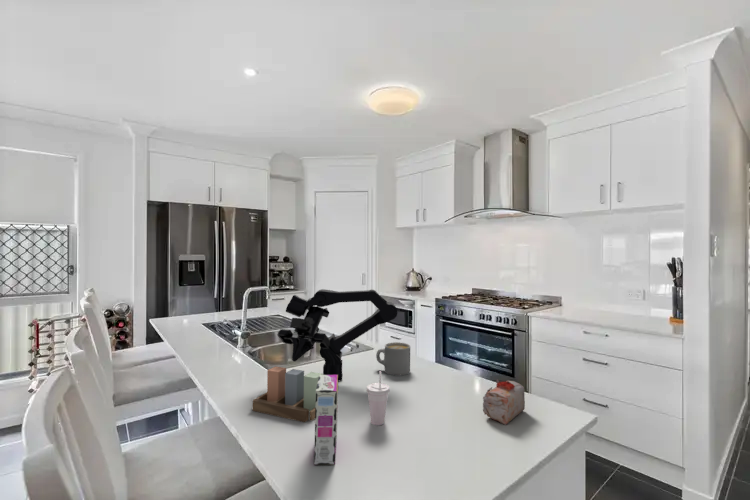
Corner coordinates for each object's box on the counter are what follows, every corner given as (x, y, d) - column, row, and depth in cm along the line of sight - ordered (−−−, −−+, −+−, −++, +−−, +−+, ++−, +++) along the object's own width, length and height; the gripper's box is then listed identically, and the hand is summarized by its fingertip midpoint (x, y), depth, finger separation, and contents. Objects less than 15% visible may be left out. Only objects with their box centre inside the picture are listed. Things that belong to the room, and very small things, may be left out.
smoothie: (387, 428, 96) (387, 376, 96) (363, 426, 97) (364, 374, 97) (390, 417, 102) (391, 368, 102) (368, 415, 103) (369, 366, 103)
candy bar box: (336, 465, 79) (337, 391, 79) (313, 466, 79) (314, 391, 79) (337, 438, 90) (338, 373, 90) (317, 439, 90) (318, 373, 90)
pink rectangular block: (275, 397, 114) (275, 366, 114) (285, 399, 113) (286, 368, 113) (267, 402, 111) (267, 370, 110) (277, 405, 109) (278, 372, 109)
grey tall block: (292, 401, 112) (293, 369, 112) (303, 403, 110) (304, 370, 110) (284, 406, 108) (285, 373, 108) (296, 408, 107) (296, 374, 107)
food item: (507, 428, 97) (508, 391, 97) (480, 418, 102) (480, 384, 102) (527, 412, 107) (527, 379, 107) (501, 404, 112) (501, 372, 112)
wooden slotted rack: (271, 397, 115) (271, 387, 115) (327, 408, 107) (327, 398, 107) (249, 410, 106) (249, 399, 106) (309, 423, 98) (309, 412, 98)
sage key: (310, 404, 110) (311, 371, 110) (322, 406, 108) (322, 373, 108) (303, 410, 106) (303, 376, 106) (315, 412, 104) (315, 378, 104)
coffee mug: (413, 369, 143) (414, 344, 143) (404, 377, 134) (404, 350, 134) (383, 364, 149) (383, 340, 149) (372, 371, 140) (372, 345, 140)
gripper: (280, 306, 129) (259, 344, 118) (326, 310, 121) (308, 351, 111) (293, 324, 136) (274, 361, 126) (337, 328, 129) (321, 368, 119)
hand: (293, 360), depth 120 cm, fingers closed
